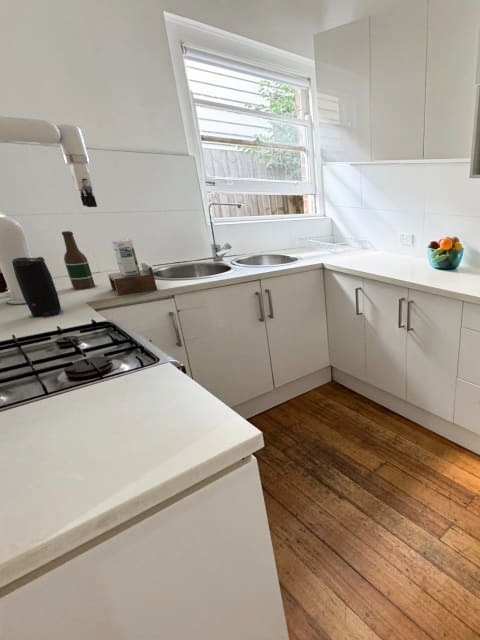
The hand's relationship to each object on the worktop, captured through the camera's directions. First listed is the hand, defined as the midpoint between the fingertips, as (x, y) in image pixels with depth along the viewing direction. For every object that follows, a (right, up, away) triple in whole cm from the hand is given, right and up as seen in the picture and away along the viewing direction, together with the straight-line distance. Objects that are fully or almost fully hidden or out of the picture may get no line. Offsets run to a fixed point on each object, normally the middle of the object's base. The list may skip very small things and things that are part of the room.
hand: (90, 206), depth 156 cm
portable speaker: (+3, -46, -22) cm, 51 cm away
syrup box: (+11, -27, +8) cm, 30 cm away
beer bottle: (-13, -32, +13) cm, 37 cm away
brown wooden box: (+11, -33, +11) cm, 36 cm away
